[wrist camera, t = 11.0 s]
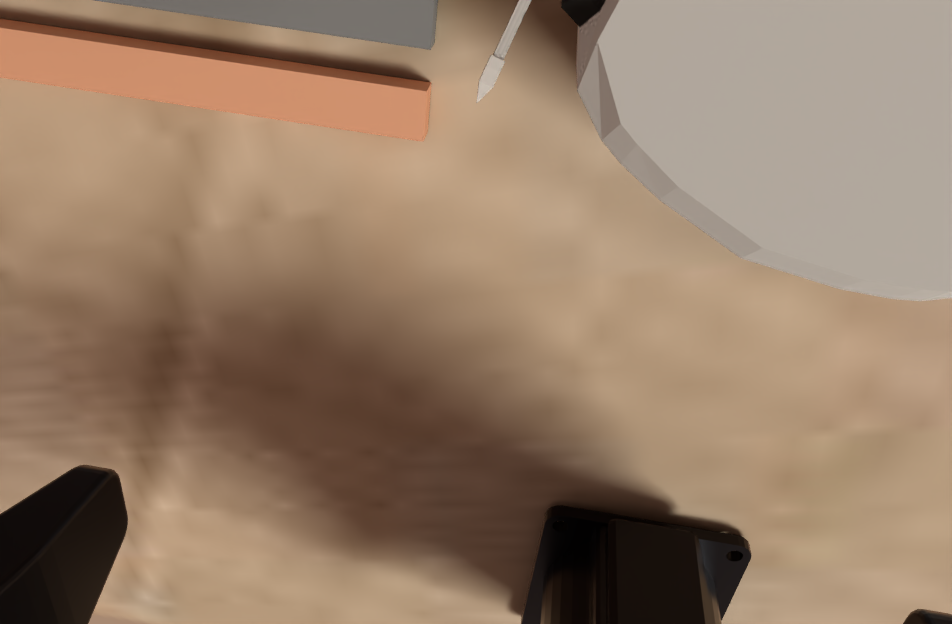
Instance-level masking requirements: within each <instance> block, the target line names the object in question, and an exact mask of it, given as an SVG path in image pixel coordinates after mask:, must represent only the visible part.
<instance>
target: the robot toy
mask: <svg viewBox="0 0 952 624" xmlns="http://www.w3.org/2000/svg"><path fill="white" fill-rule="evenodd" d="M530 2H531V0H519V1H518V3H517V5H516V7H515V9H514V11H513V14H512V16H511V18H510V20H509V22H508V24H507V26H506V29H505V31H504V33H503V35H502V37H501V39H500V41H499V44H498V46H497V48H496V50H495V52H494V54H493V55H491V56H490V58H489V60H488V62H487V64H486V66H485V68H484V71H483V73H482V75H481V77H480V79H479V85H478V95H477V103H478V102H479V101H480V100H481V99H482V98H483V97H484V96H485V95H486V94H487V93H488V92H489V91H490V90H491V89H492V88H493V86H494V84H495V82H496V80H497V78H498V76H499V73H500V71H501V69H502V67H503V65H504V63H505V61H503V60H504V57H505V55H506V53H507V51H508V49H509V47H510V45H511V43H512V40H513V38H514V36H515V34H516V32H517V30H518V28H519V26H520V23H521V21H522V19H523V17H524V15H525V13H526V11H527V9H528V6H529V4H530ZM562 8H563V9H564V11H565V12H566V13H567V14H568V15H569V16H570V17H571V18H572V19H573V20H574V21H575V23H576V24H577V25H578V33H577V57H576V73H577V91H578V93H579V95H580V97H581V99H582V101H583V103H584V105H585V107H586V109H587V111H588V114H589V116H590V118H591V120H592V122H593V124H594V126H595V128H596V130H597V132H598V134H599V136H600V138H601V140H602V142H603V143H604V144H605V145H606V146H607V148H608V149H609V150H610V151H611V153H612V154H613V155H614V156H615V157H616V159H617V160H618V161H619V162H620V164H621V165H623V166H624V167H625V168H626V169H627V170H628V171H629V172H630V173H631V174H632V175H633V176H634V177H635V178H636V179H637V180H639V181H640V182H641V183H642V184H643V185H644V186H645V187H646V188H647V189H648V190H649V191H650V192H651V193H652V194H653V195H655V196H656V197H657V198H658V199H659V200H660V201H662V202H663V203H664V204H666V205H667V206H668V207H670V208H671V209H673V210H674V211H675V212H677V213H678V214H680V215H681V216H682V217H684V218H685V219H687V220H688V221H689V222H691V223H692V224H694V225H695V226H696V227H698V228H699V229H701V230H702V231H703V232H705V233H706V234H708V235H709V236H710V237H712V238H713V239H715V240H716V241H717V242H719V243H720V244H722V245H723V246H724V247H726V248H727V249H729V250H730V251H731V252H733V253H734V254H736V255H737V256H738V257H740V258H742V259H745V260H748V261H751V262H754V263H758V264H761V265H764V266H767V267H770V268H773V269H777V270H780V271H783V272H786V273H789V274H793V275H796V276H799V277H802V278H805V279H808V280H812V281H815V282H818V283H821V284H824V285H828V286H831V287H834V288H837V289H842V290H847V291H852V292H857V293H863V294H868V295H873V296H878V297H884V298H889V299H899V300H912V301H927V300H937V299H946V298H952V0H562Z"/></svg>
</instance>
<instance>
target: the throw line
mask: <svg viewBox="0 0 952 624" xmlns="http://www.w3.org/2000/svg"><path fill="white" fill-rule="evenodd" d="M0 77H1V78H8V79H14V80H21V81H27V82H34V83H41V84H47V85H54V86H60V87H67V88H73V89H80V90H87V91H93V92H100V93H106V94H113V95H120V96H126V97H133V98H139V99H146V100H152V101H159V102H166V103H172V104H179V105H185V106H192V107H199V108H205V109H212V110H218V111H225V112H232V113H238V114H245V115H251V116H258V117H264V118H271V119H278V120H284V121H291V122H297V123H304V124H311V125H317V126H324V127H330V128H337V129H343V130H350V131H357V132H363V133H370V134H376V135H383V136H390V137H396V138H403V139H409V140H416V141H422V142H423V141H424V139H425V137H426V134H427V132H428V121H429V108H430V95H431V82H424V81H417V80H410V79H404V78H397V77H390V76H384V75H377V74H370V73H363V72H357V71H350V70H343V69H336V68H330V67H323V66H316V65H310V64H303V63H296V62H289V61H283V60H276V59H269V58H262V57H256V56H249V55H242V54H236V53H229V52H222V51H215V50H209V49H202V48H195V47H188V46H182V45H175V44H168V43H162V42H155V41H148V40H141V39H135V38H128V37H121V36H114V35H108V34H101V33H94V32H88V31H81V30H74V29H67V28H61V27H54V26H47V25H40V24H34V23H27V22H20V21H14V20H7V19H0Z"/></svg>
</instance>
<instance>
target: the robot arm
mask: <svg viewBox="0 0 952 624" xmlns="http://www.w3.org/2000/svg"><path fill="white" fill-rule="evenodd" d="M558 521H564V522H558ZM127 525H128V516H127V510H126V506H125V501H124V496H123V492H122V487H121V482H120V478H119V475H118V474H117V473H116V472H115V471H114V470H112V469H107V468H102V467H96V466H90V465H80V466H77V467H75V468H73V469H71V470H69V471H68V472H66V473H65V474H63V475H61V476H60V477H58V478H57V479H55V480H53V481H52V482H50V483H49V484H47V485H46V486H44V487H42V488H41V489H39V490H38V491H36V492H34V493H33V494H31V495H30V496H28V497H27V498H25V499H23V500H22V501H20V502H19V503H17V504H15V505H14V506H12V507H11V508H9V509H8V510H6V511H4V512H3V513H1V514H0V624H88V623H89V621H90V618H91V616H92V614H93V611H94V609H95V606H96V604H97V602H98V599H99V597H100V595H101V592H102V590H103V587H104V585H105V583H106V580H107V578H108V576H109V573H110V571H111V568H112V566H113V564H114V561H115V559H116V557H117V554H118V552H119V549H120V547H121V545H122V542H123V540H124V537H125V534H126V530H127ZM750 559H751V550H750V545H749V543H748V541H747V540H746V539H745V538H743V537H740V536H737V535H731V534H725V533H720V532H714V531H708V530H702V529H696V528H690V527H684V526H678V525H673V524H667V523H661V522H655V521H649V520H643V519H637V518H631V517H625V516H620V515H614V514H608V513H602V512H596V511H590V510H584V509H578V508H573V507H567V506H554V507H551V508H550V509H548V510H547V512H546V514H545V518H544V522H543V527H542V531H541V535H540V539H539V544H538V548H537V552H536V557H535V561H534V565H533V570H532V574H531V578H530V582H529V587H528V591H527V595H526V600H525V604H524V608H523V613H522V618H521V624H721V620H722V618H723V616H724V614H725V612H726V610H727V608H728V606H729V604H730V601H731V599H732V597H733V595H734V593H735V591H736V589H737V587H738V585H739V582H740V580H741V578H742V576H743V574H744V572H745V570H746V568H747V566H748V563H749V561H750ZM903 624H952V615H951V614H948V613H942V612H936V611H930V610H925V609H917V610H915V611H913V612H911V613H910V614H909V616H908V617H907V618H906V620H905V621H904V623H903Z"/></svg>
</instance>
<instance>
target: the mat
mask: <svg viewBox="0 0 952 624" xmlns="http://www.w3.org/2000/svg"><path fill="white" fill-rule="evenodd" d="M95 1H102V2H109V3H116V4H123V5H129V6H136V7H143V8H150V9H157V10H163V11H170V12H177V13H184V14H191V15H198V16H204V17H211V18H218V19H225V20H232V21H238V22H245V23H252V24H259V25H266V26H272V27H279V28H286V29H293V30H300V31H306V32H313V33H320V34H327V35H334V36H340V37H347V38H354V39H361V40H368V41H375V42H381V43H388V44H395V45H402V46H409V47H415V48H422V49H429V50H431V48H432V46H433V45H434V42H435V29H436V16H437V3H438V0H95Z"/></svg>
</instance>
